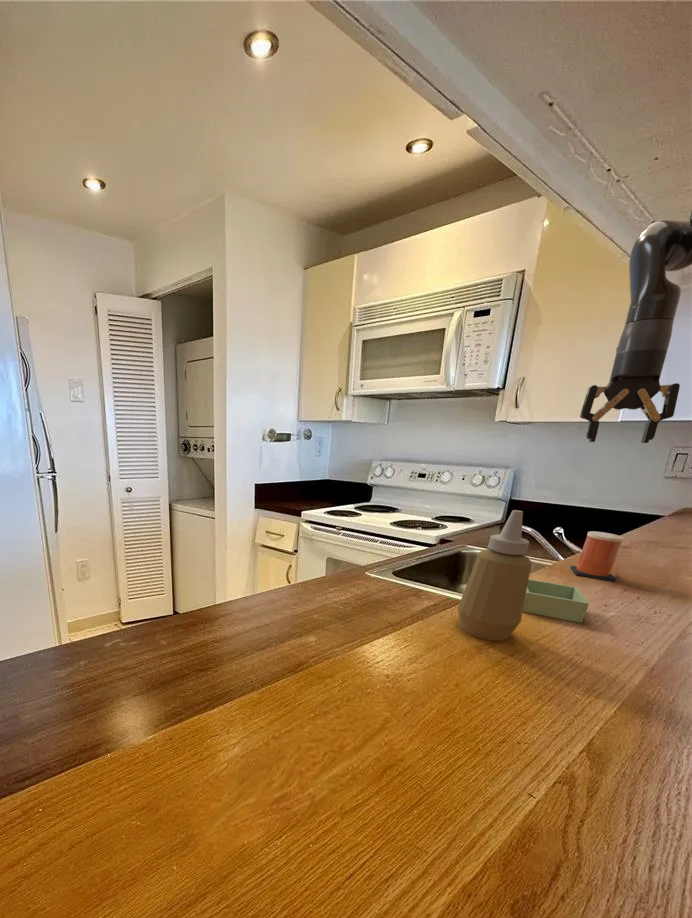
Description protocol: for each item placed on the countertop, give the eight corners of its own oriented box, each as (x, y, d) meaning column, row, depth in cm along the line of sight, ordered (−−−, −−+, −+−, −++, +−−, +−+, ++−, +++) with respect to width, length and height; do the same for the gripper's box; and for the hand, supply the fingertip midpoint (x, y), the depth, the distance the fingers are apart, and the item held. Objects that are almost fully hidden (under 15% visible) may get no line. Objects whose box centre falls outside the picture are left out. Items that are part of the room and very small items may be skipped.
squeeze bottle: (454, 642, 65) (488, 512, 58) (449, 620, 72) (479, 502, 66) (519, 654, 63) (562, 521, 56) (507, 630, 70) (544, 509, 63)
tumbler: (605, 570, 102) (619, 534, 99) (613, 578, 97) (628, 540, 94) (572, 565, 104) (584, 529, 101) (578, 572, 99) (591, 535, 96)
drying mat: (607, 573, 102) (608, 571, 102) (615, 581, 97) (616, 579, 97) (570, 567, 105) (571, 565, 104) (575, 575, 99) (576, 572, 99)
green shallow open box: (569, 609, 80) (577, 587, 78) (580, 628, 73) (589, 603, 71) (514, 599, 83) (520, 577, 81) (519, 616, 76) (526, 592, 74)
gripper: (599, 349, 88) (578, 441, 93) (698, 344, 82) (670, 443, 87) (591, 356, 94) (572, 442, 99) (682, 352, 88) (657, 443, 94)
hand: (617, 442), depth 93 cm, fingers open, 8 cm apart
